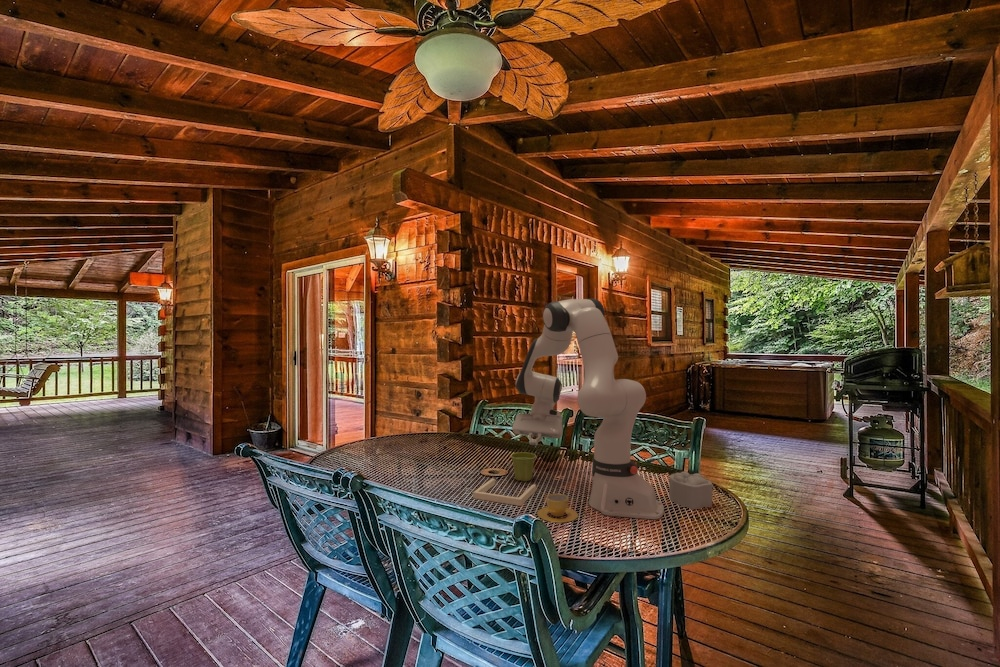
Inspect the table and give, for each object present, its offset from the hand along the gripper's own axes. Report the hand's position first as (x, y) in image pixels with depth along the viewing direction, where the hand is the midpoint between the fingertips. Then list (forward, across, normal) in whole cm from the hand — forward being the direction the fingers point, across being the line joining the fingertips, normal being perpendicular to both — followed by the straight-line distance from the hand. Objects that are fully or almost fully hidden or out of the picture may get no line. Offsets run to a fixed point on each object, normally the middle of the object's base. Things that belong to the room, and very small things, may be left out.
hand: (533, 444), depth 180 cm
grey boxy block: (+15, +56, -1) cm, 58 cm away
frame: (+27, 0, -13) cm, 30 cm away
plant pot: (+15, 0, -1) cm, 15 cm away
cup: (+34, +21, -20) cm, 45 cm away
